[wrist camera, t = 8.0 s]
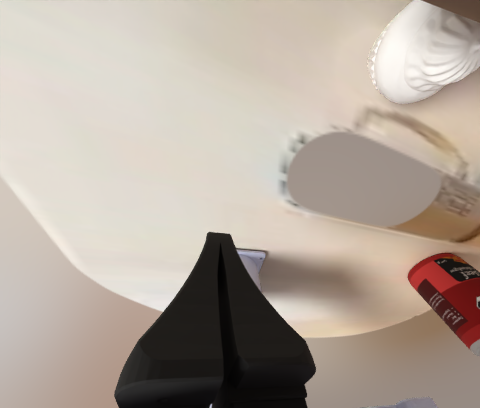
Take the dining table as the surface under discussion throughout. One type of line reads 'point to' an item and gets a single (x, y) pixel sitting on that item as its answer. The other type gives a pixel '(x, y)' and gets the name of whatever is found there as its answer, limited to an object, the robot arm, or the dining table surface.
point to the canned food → (451, 294)
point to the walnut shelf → (460, 7)
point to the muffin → (423, 52)
